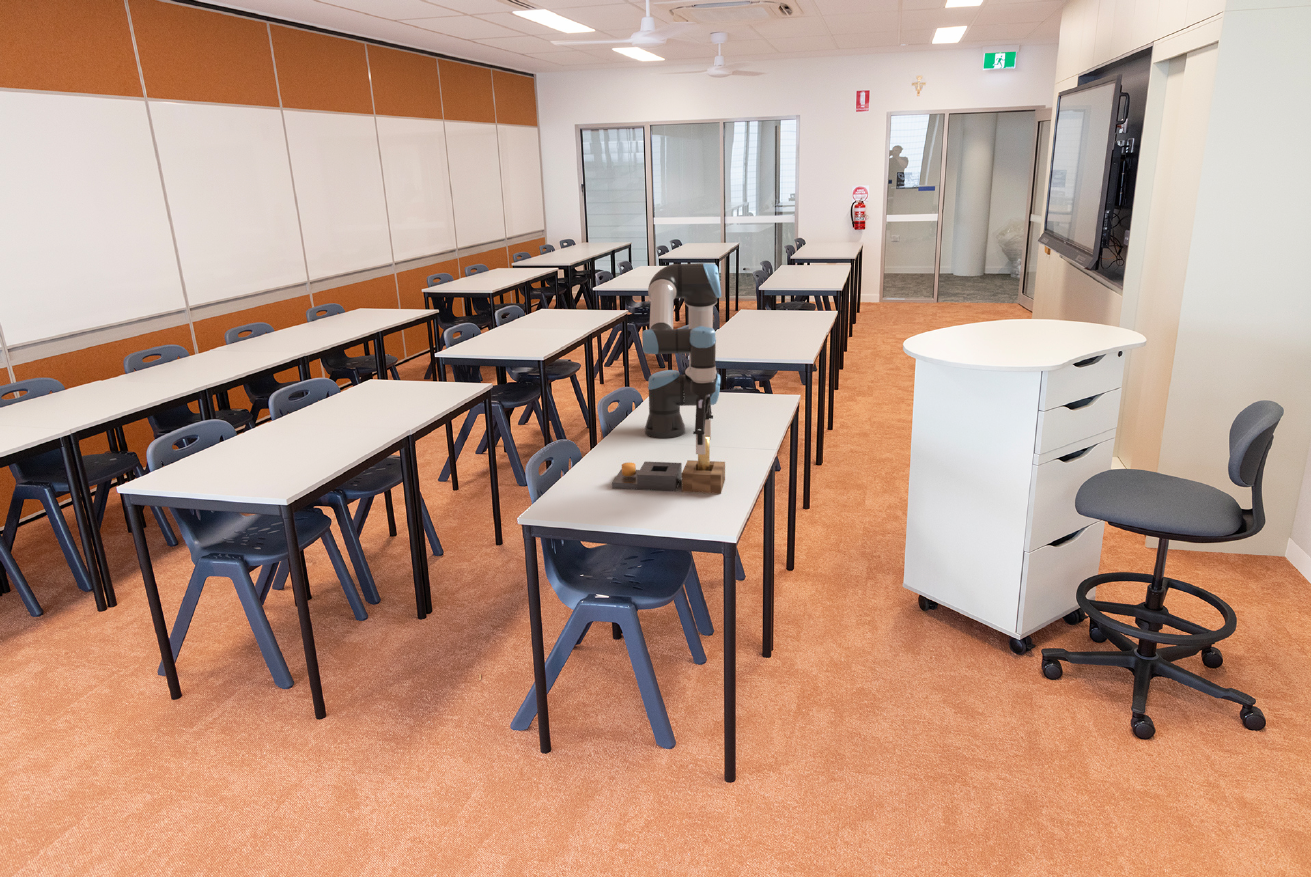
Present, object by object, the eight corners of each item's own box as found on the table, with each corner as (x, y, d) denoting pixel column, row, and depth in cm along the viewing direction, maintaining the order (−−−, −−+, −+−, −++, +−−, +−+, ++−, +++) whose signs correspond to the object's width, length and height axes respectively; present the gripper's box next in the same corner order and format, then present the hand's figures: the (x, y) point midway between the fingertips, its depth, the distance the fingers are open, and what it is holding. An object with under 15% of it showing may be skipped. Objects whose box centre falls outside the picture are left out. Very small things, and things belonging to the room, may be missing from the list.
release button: (623, 471, 254) (623, 462, 254) (637, 471, 254) (636, 462, 253) (620, 475, 250) (620, 466, 249) (634, 476, 250) (633, 467, 249)
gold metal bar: (699, 483, 250) (698, 435, 245) (710, 483, 250) (710, 435, 245) (697, 487, 247) (696, 438, 242) (708, 487, 246) (708, 439, 241)
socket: (621, 474, 259) (620, 460, 258) (681, 477, 256) (681, 462, 254) (612, 488, 248) (611, 473, 247) (675, 491, 244) (675, 476, 243)
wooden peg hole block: (687, 477, 255) (687, 460, 253) (725, 479, 253) (725, 461, 251) (681, 491, 244) (681, 473, 242) (720, 493, 242) (720, 475, 240)
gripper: (696, 369, 250) (697, 433, 257) (684, 390, 227) (685, 460, 234) (720, 369, 249) (720, 433, 256) (710, 391, 226) (710, 461, 232)
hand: (703, 446), depth 245 cm, fingers open, 13 cm apart
